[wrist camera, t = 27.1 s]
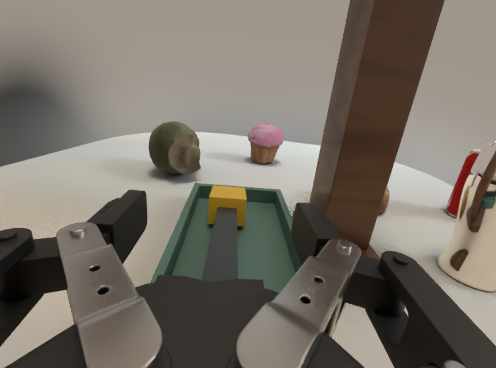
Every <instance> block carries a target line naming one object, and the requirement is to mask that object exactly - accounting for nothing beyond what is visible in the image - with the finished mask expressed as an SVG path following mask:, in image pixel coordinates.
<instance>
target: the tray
mask: <svg viewBox="0 0 496 368" xmlns="http://www.w3.org/2000/svg"><path fill="white" fill-rule="evenodd" d="M214 186H225V185H214ZM212 187H213V185H212V184H199V183H195V185H194V187H193V189H192V191H191V193H190V196H189V198H188V200H187V202H186V205H185V207H184V209H183V211H182V213H181V216H180V218H179V220H178V222H177V225H176V227H175V229H174V231H173V234H172V236H171V238H170V240H169V242H168V245H167V247H166V249H165V251H164V254H163V256H162V258H161V260H160V262H159V265H158V267H157V269H156V271H155V274H154V276H153V278H152V280H151V282H150V283H155V281H156V279H157V276H158V275H176V276H187V277H191V278H195V279H199V280H202V276H203V272H204V267H205V262H206V258H207V253H208V249H209V244H210V239H211V235H212V230H213V226H214V224H208V207H209V196H210V193H211V190H212ZM227 187H238V186H227ZM239 188H245V190H246V198H247V203H246V213H245V224H244V226H237V265H238V279H255V280H263V283H264V288H267V289H270V290H273V291H275V292H277V293H280V291H281V290H282V289H283V288H284V287H285V285H286V284H287V283H288V282H289V281H290V279H291V278H292V277H293V276H294V274H295V273H296V272H297V271H298V270H299V268H300V267H301V263H300V260H299V258H298V255H297V252H296V249H295V247H294V244H293V241H292V237H291V229H292V223H293V220H292V217H291V215H290V213H289V210H288V208H287V205H286V203H285V200H284V198H283V195H282V193H281V191H280V190H277V189H264V188H251V187H239Z"/></svg>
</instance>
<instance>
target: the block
mask: <svg viewBox="0 0 496 368" xmlns="http://www.w3.org/2000/svg"><path fill="white" fill-rule="evenodd" d="M246 203H247V198H246V190H245V188H239V187H227V186H214V185H213V187H212V190H211V193H210V196H209V207H208V224H214V226H213V230H212V235H211V239H210V244H209V249H208V253H207V258H206V262H205V267H204V272H203V276H202V280H203V281H207V282H217V281H224V280H232V279H238V265H237V226H244V224H245V213H246Z"/></svg>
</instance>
